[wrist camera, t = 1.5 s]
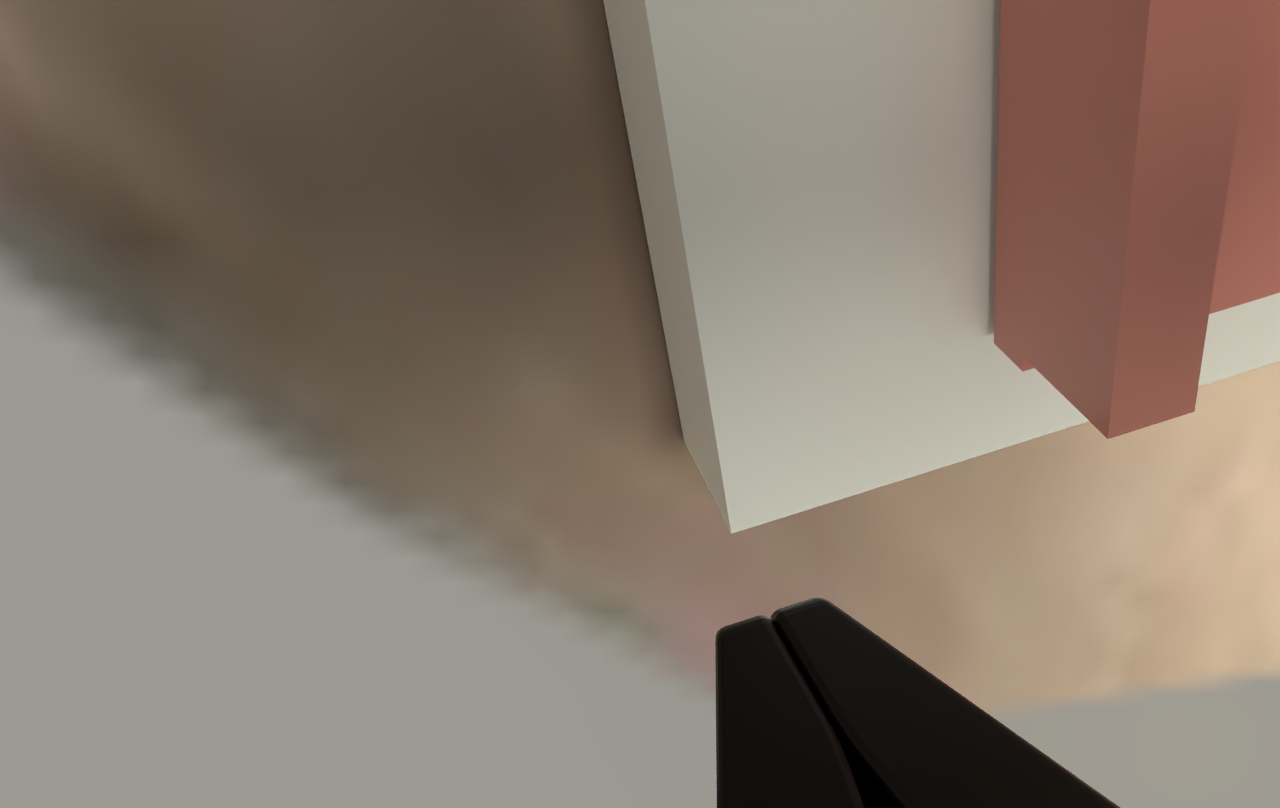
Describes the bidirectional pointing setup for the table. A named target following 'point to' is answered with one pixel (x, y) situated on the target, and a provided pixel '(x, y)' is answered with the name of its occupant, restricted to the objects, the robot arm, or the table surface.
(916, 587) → the table surface
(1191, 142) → the pink toy block
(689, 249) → the socket plate
